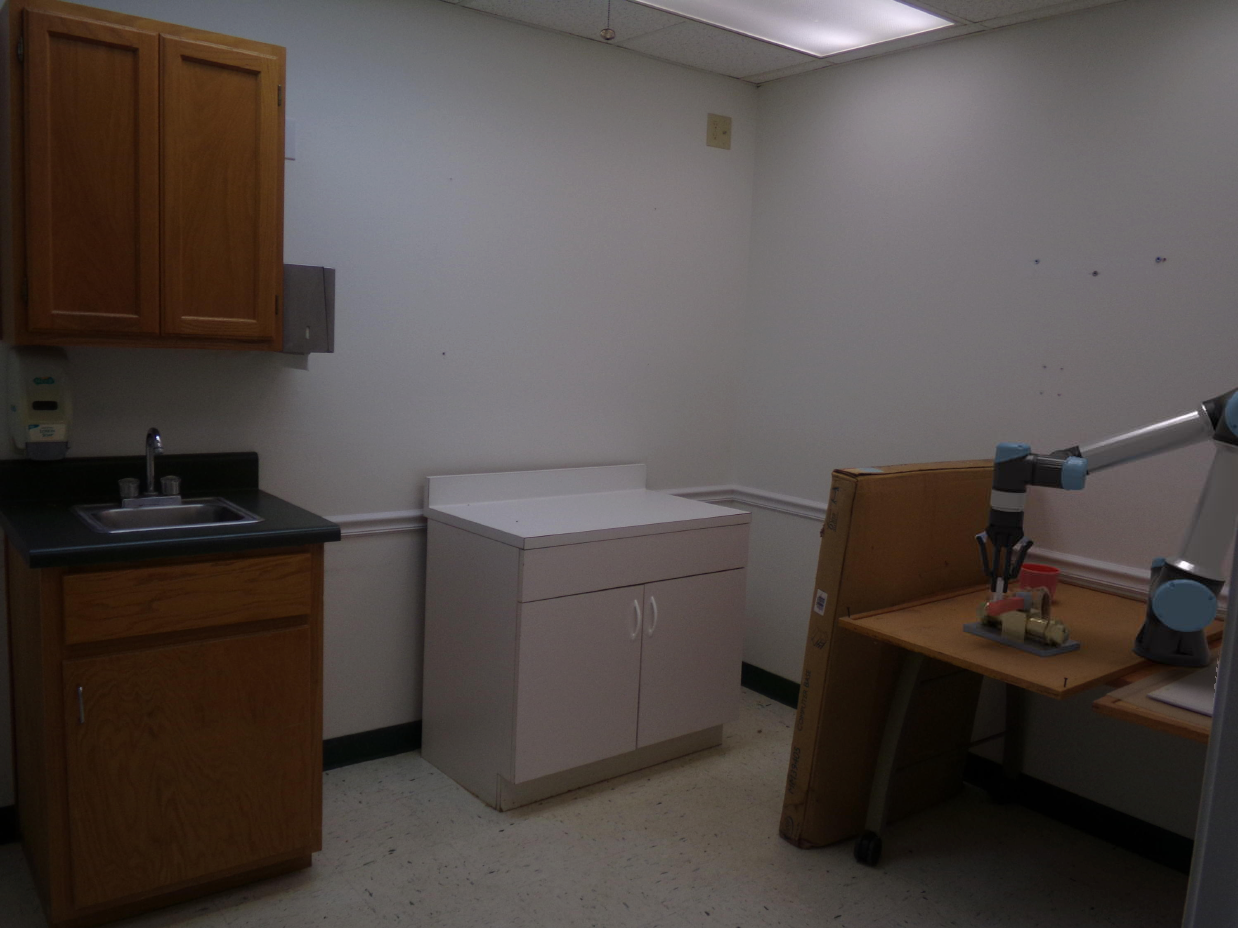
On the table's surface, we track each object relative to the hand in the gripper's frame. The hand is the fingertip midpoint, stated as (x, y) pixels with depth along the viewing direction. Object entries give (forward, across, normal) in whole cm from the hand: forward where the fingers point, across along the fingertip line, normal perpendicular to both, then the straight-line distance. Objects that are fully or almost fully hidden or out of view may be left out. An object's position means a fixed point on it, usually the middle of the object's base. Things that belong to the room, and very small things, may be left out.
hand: (997, 605), depth 216 cm
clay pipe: (+9, -10, -22) cm, 26 cm away
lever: (+1, -3, +1) cm, 3 cm away
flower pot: (+10, -18, -45) cm, 49 cm away
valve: (+9, -7, -4) cm, 12 cm away
